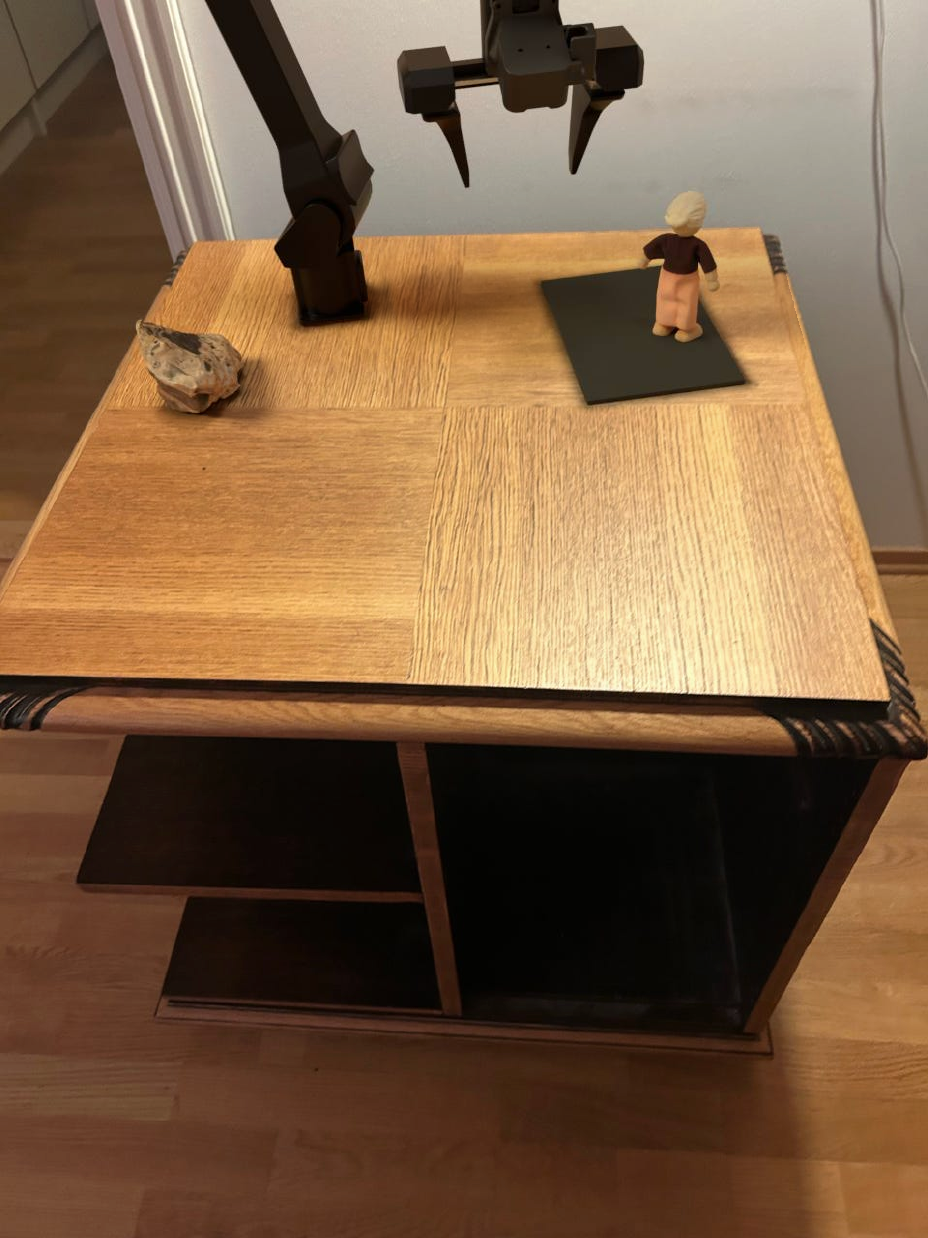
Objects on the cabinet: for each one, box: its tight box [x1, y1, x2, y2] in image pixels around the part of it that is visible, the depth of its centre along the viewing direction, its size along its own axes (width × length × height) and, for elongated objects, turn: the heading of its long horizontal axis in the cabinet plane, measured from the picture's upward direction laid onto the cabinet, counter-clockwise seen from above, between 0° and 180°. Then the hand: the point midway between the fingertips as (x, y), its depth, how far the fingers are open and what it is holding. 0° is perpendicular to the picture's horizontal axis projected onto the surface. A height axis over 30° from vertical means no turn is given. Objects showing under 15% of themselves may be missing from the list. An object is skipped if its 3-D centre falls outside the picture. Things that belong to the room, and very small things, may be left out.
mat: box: [540, 264, 746, 406], centre depth 86 cm, size 14×20×1 cm
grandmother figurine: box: [636, 190, 721, 342], centre depth 80 cm, size 8×4×13 cm, turn 67°
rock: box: [135, 319, 245, 414], centre depth 81 cm, size 9×7×10 cm
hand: (519, 179), depth 79 cm, fingers open, 9 cm apart
